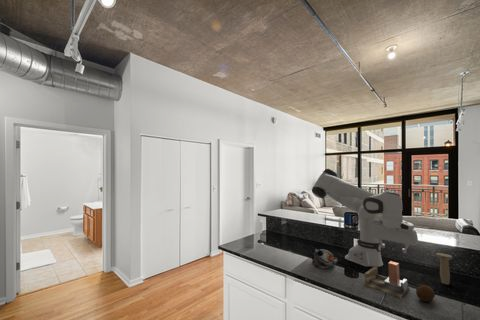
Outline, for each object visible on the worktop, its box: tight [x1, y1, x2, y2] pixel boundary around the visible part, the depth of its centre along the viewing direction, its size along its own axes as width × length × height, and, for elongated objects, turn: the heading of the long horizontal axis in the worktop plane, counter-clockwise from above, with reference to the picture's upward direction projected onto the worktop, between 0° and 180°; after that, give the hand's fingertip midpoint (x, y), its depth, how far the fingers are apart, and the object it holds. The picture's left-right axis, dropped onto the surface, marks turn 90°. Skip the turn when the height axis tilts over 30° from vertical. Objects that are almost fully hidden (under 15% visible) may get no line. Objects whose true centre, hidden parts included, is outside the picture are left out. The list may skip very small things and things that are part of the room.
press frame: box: [364, 266, 410, 299], centre depth 118 cm, size 16×13×6 cm
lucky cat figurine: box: [311, 248, 339, 270], centre depth 143 cm, size 15×12×14 cm
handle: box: [435, 252, 453, 285], centre depth 121 cm, size 5×6×15 cm
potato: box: [415, 284, 436, 303], centre depth 106 cm, size 7×12×7 cm, turn 137°
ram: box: [384, 260, 408, 293], centre depth 115 cm, size 8×7×12 cm
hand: (393, 250), depth 116 cm, fingers open, 8 cm apart
